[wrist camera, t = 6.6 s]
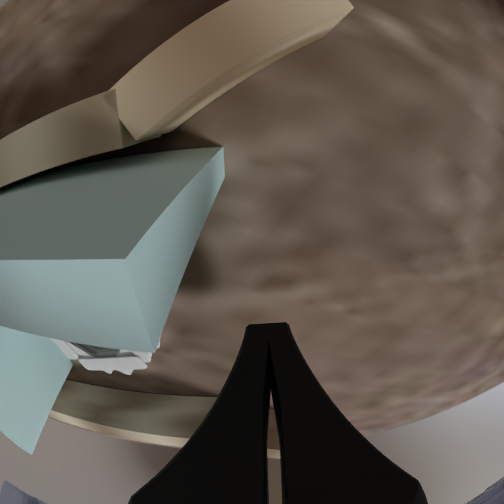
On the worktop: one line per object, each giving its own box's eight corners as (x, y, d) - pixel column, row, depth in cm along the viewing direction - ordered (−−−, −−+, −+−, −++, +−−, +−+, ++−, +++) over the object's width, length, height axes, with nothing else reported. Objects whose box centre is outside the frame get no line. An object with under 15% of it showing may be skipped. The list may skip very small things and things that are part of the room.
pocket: (320, 5, 6) (346, -32, 3) (308, 423, 17) (312, 458, 14) (-56, 142, 7) (-89, 156, 4) (60, 402, 17) (49, 427, 15)
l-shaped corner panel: (64, 362, 14) (22, 449, 8) (-7, 187, 9) (-112, 259, 2) (240, 382, 14) (235, 510, 8) (223, 146, 9) (125, 259, 2)
